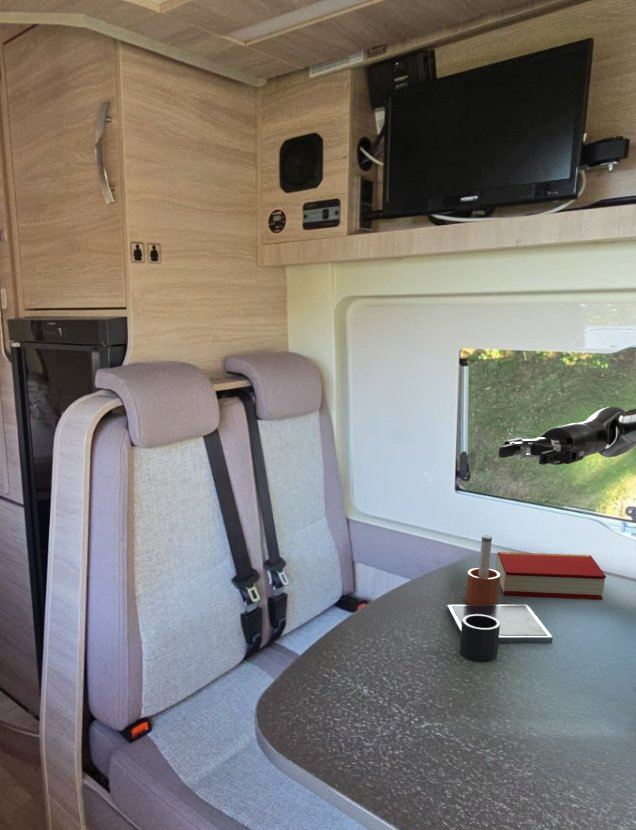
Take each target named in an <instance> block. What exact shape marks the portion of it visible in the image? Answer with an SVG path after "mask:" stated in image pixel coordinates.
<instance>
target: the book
mask: <svg viewBox="0 0 636 830" xmlns="http://www.w3.org/2000/svg"><path fill="white" fill-rule="evenodd" d="M495 571H497V572H499V573H500V585H499V588H500V589H501V592H502V595H503V596H510V597H511V596H513V597H532V598H534V597H535V598H552V599H553V598H555V599H571V600H573V599H574V600H593V601H594V600H595V601H596V600H597V601H603V598H604V597H603V593H604V586H605V581H606V579H607V576H606V574H605V573H604V571H603V570H602V568H601V567H600V566H599V565H598V563H597V562H596V560H595V559H594V558H593V556H592V555H590V554H563V553H536V552H535V553H531V552H506V551H505V552H503V551H498V552H497V555H496V563H495Z"/></svg>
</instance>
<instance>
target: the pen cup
mask: <svg viewBox="0 0 636 830" xmlns="http://www.w3.org/2000/svg"><path fill="white" fill-rule="evenodd" d="M478 575H479V567H475V568H471V569H468V571H467V573H466V585H465V595H464V598H465V599H464V600H465V603H466V604H467V605H498V601H499V593H500V573H499V572H497V571H496V569H492V568H489V574H488V578H480V577H478Z"/></svg>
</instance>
